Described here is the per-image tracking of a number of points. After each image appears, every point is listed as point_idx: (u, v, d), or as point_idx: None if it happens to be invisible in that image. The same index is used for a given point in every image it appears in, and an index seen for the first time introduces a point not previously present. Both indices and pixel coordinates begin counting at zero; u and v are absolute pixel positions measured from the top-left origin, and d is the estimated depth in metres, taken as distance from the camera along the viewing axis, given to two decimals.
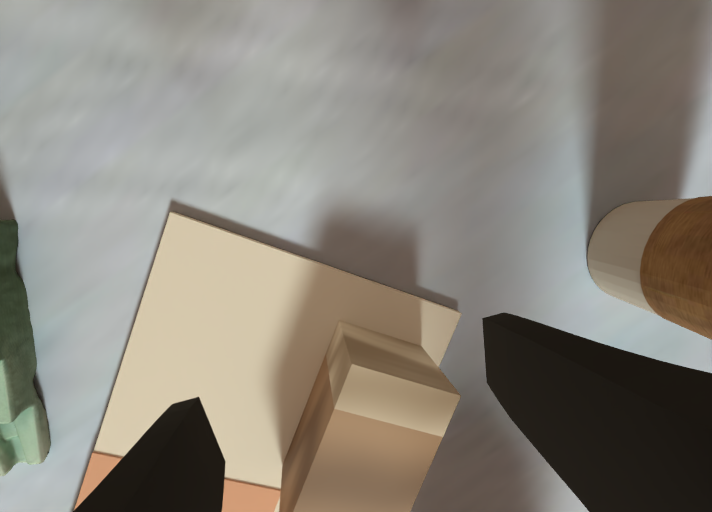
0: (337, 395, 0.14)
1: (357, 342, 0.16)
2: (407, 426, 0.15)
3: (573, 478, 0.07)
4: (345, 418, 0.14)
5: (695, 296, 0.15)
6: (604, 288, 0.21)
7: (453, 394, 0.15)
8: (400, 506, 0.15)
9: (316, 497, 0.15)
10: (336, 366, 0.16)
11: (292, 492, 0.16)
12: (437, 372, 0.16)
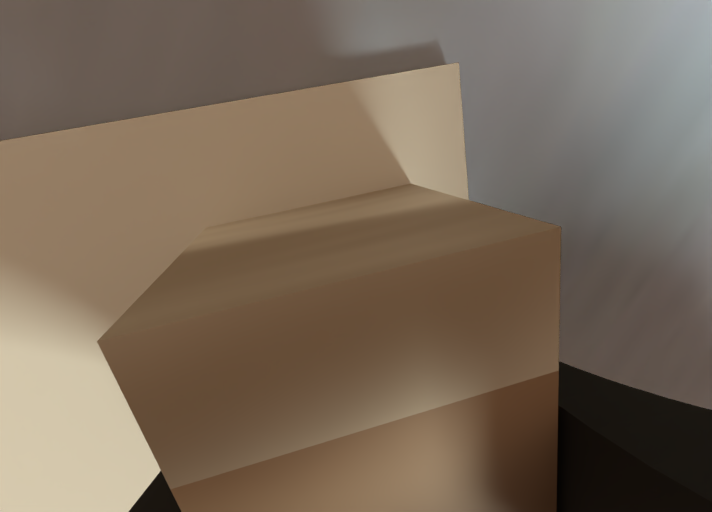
0: None
1: (215, 251, 0.06)
2: (435, 403, 0.04)
3: None
4: (230, 490, 0.04)
5: None
6: None
7: (532, 236, 0.04)
8: None
9: None
10: None
11: None
12: (456, 208, 0.06)
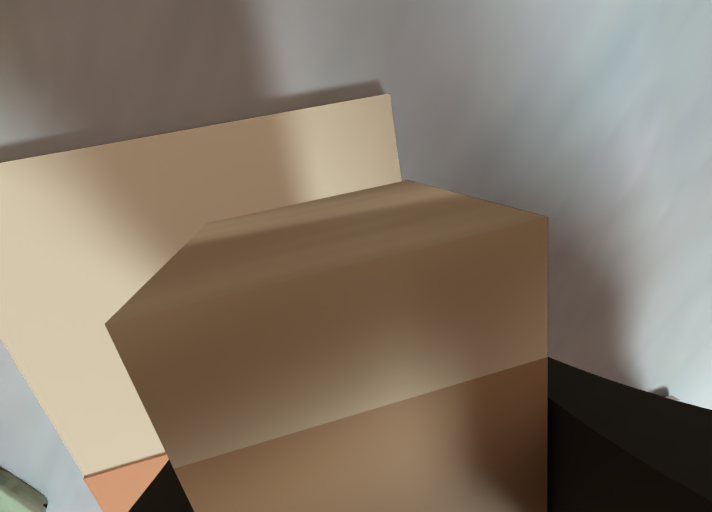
0: None
1: (216, 244, 0.06)
2: (428, 387, 0.05)
3: None
4: (231, 470, 0.04)
5: None
6: None
7: (521, 226, 0.04)
8: None
9: None
10: None
11: None
12: (450, 202, 0.06)
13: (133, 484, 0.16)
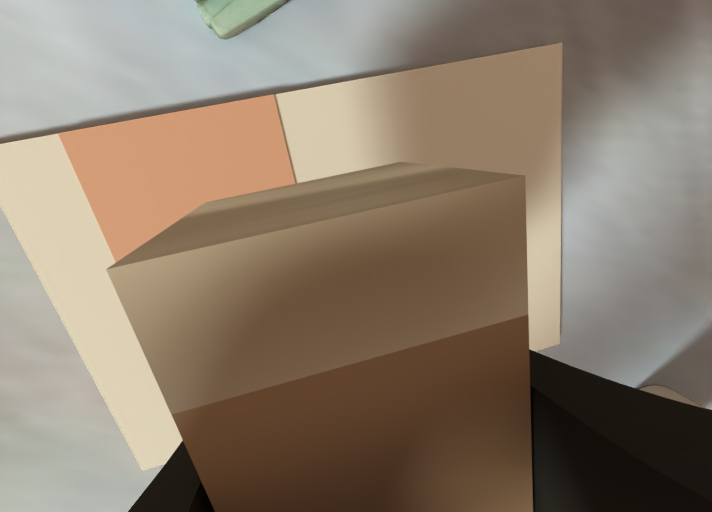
0: None
1: (213, 214, 0.06)
2: (414, 341, 0.05)
3: None
4: (225, 418, 0.05)
5: None
6: None
7: (499, 184, 0.04)
8: (505, 501, 0.06)
9: None
10: None
11: None
12: (437, 172, 0.06)
13: (255, 142, 0.14)
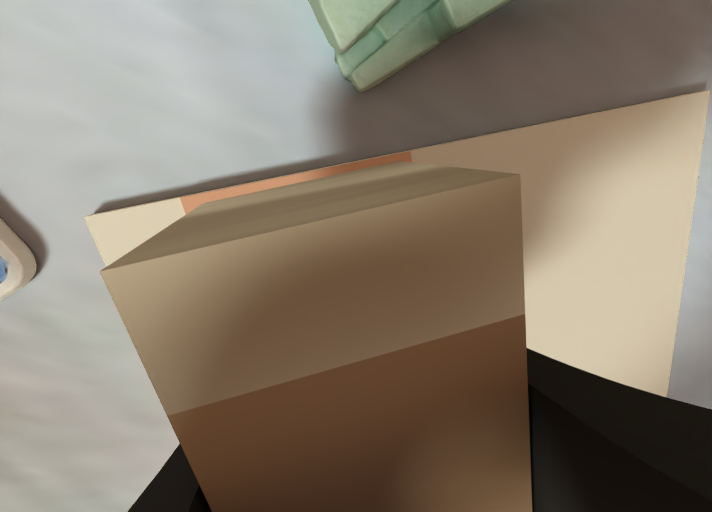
0: None
1: (209, 215, 0.06)
2: (409, 342, 0.05)
3: None
4: (221, 419, 0.05)
5: None
6: None
7: (494, 183, 0.04)
8: (504, 502, 0.06)
9: None
10: None
11: None
12: (434, 172, 0.06)
13: None
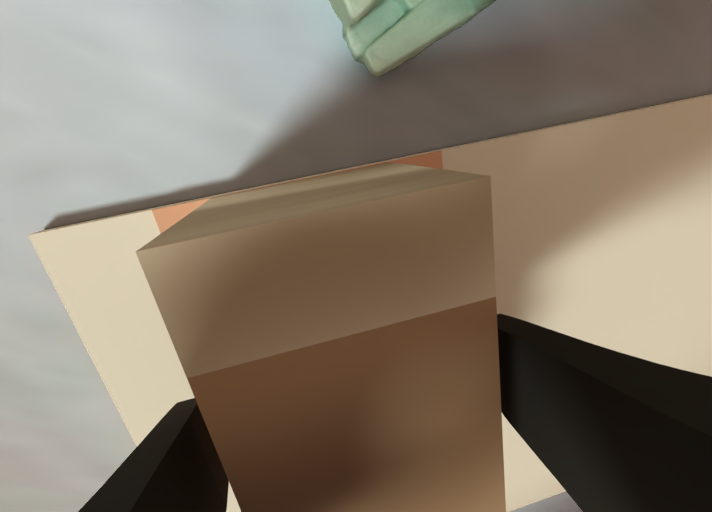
0: None
1: (220, 208, 0.07)
2: (395, 318, 0.06)
3: (568, 480, 0.07)
4: (233, 382, 0.05)
5: None
6: None
7: (468, 183, 0.05)
8: (479, 465, 0.07)
9: None
10: None
11: None
12: (420, 173, 0.07)
13: None
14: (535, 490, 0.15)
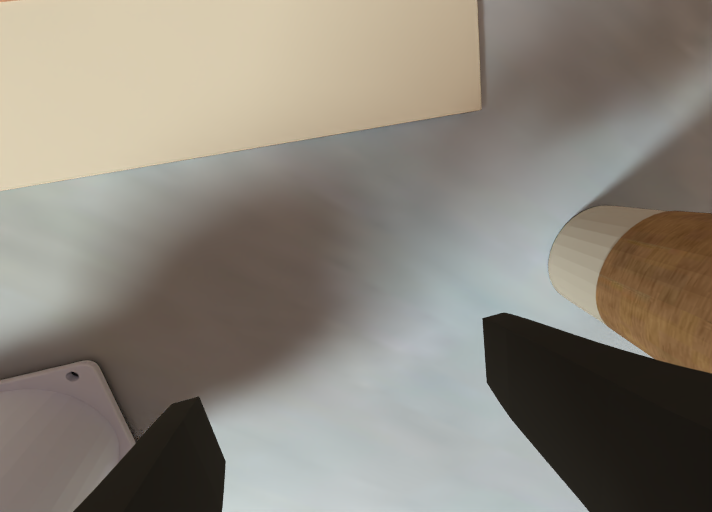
0: None
1: None
2: None
3: (573, 478, 0.07)
4: None
5: (685, 245, 0.13)
6: (559, 248, 0.19)
7: None
8: None
9: None
10: None
11: None
12: None
13: None
14: (260, 127, 0.15)
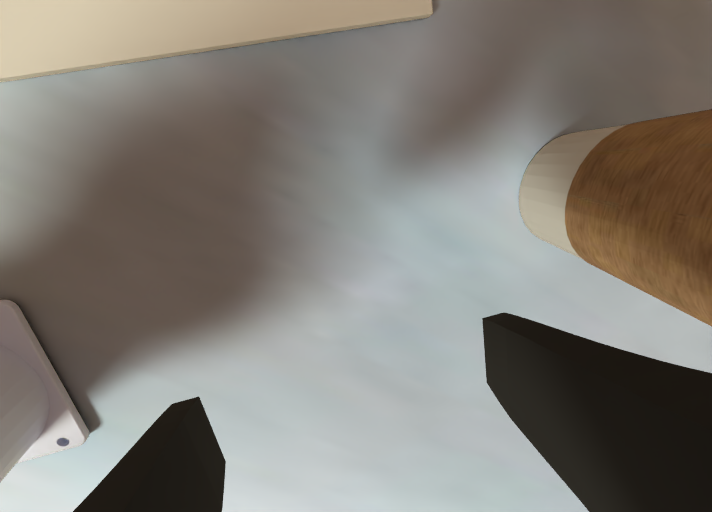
0: None
1: None
2: None
3: (573, 478, 0.07)
4: None
5: (657, 141, 0.12)
6: (529, 179, 0.18)
7: None
8: None
9: None
10: None
11: None
12: None
13: None
14: (180, 28, 0.13)
